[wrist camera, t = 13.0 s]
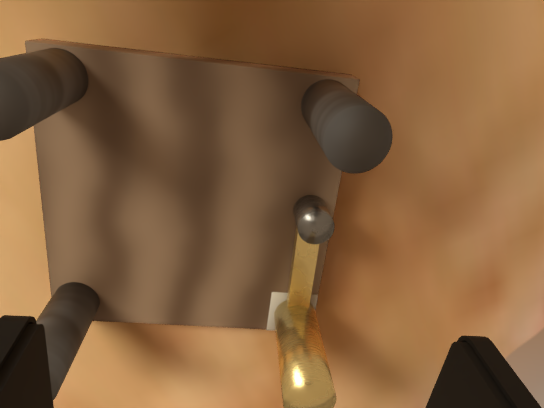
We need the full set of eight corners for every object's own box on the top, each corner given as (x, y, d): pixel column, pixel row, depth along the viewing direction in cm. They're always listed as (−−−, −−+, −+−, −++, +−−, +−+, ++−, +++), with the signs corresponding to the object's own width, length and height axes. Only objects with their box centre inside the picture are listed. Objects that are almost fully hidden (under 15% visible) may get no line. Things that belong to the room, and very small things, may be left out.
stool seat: (64, 300, 39) (-1, 408, 28) (41, 38, 30) (-67, 54, 19) (306, 313, 41) (329, 417, 31) (351, 74, 32) (404, 105, 22)
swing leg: (288, 193, 33) (304, 254, 24) (335, 196, 33) (366, 258, 25) (272, 331, 38) (280, 419, 30) (312, 332, 38) (331, 420, 30)
